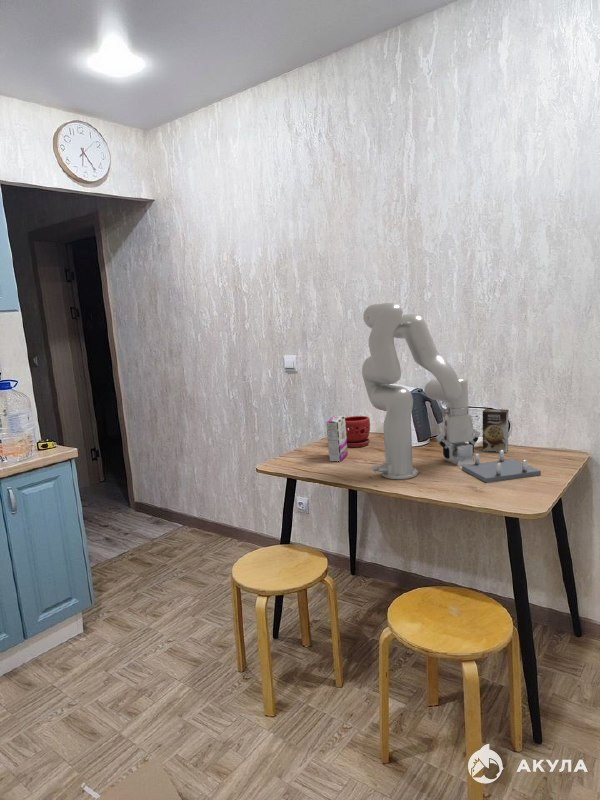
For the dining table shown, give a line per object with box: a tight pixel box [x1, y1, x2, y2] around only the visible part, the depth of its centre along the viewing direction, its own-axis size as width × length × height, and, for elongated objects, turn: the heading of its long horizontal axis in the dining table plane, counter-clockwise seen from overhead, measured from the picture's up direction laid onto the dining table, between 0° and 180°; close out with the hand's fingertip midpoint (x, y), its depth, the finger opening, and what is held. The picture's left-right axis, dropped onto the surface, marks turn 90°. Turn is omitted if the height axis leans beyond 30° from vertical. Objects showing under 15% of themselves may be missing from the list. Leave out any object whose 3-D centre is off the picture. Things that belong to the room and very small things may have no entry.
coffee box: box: [482, 408, 510, 453], centre depth 214 cm, size 9×6×16 cm
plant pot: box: [345, 415, 371, 448], centre depth 239 cm, size 13×13×12 cm
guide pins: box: [474, 450, 528, 476], centre depth 187 cm, size 11×15×4 cm
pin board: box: [461, 458, 542, 484], centre depth 188 cm, size 20×16×2 cm
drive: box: [444, 442, 474, 467], centre depth 204 cm, size 6×10×7 cm, turn 13°
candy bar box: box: [325, 415, 349, 463], centre depth 219 cm, size 11×5×16 cm, turn 160°
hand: (458, 456), depth 204 cm, fingers open, 9 cm apart
